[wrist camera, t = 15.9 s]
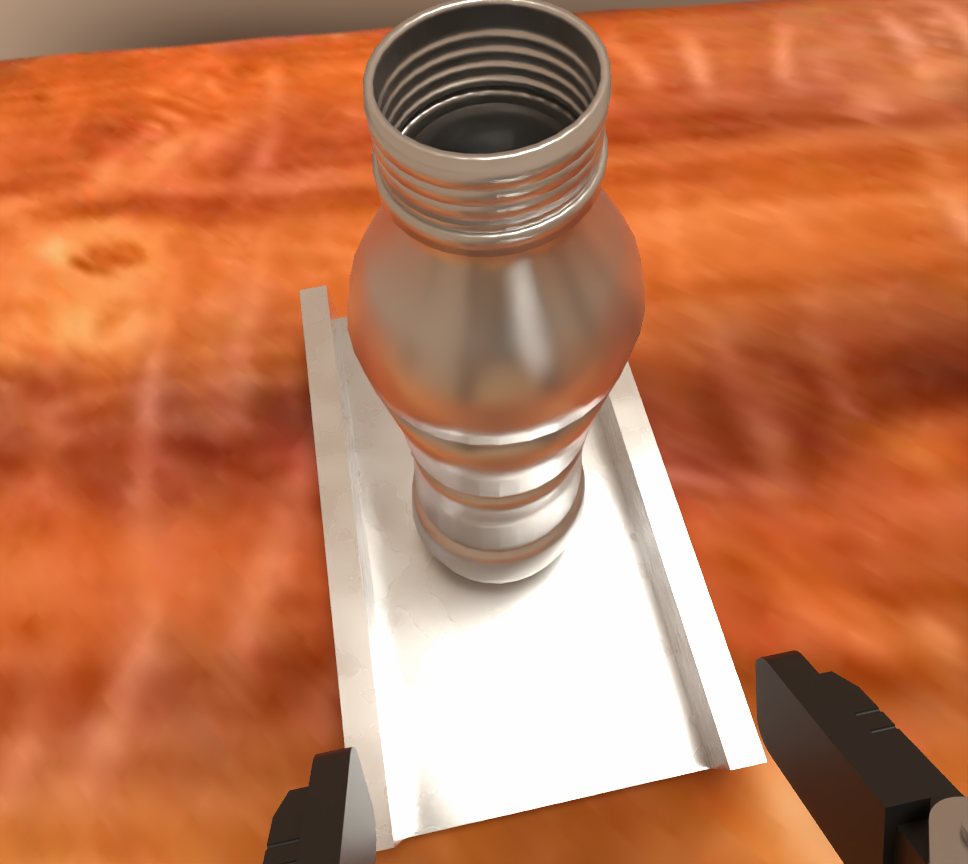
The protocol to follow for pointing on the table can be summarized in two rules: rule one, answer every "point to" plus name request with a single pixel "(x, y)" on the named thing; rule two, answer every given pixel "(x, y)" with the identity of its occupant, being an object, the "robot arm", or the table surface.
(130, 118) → the table surface
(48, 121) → the table surface
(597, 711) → the aluminium track
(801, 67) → the table surface
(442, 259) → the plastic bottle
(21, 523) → the table surface
